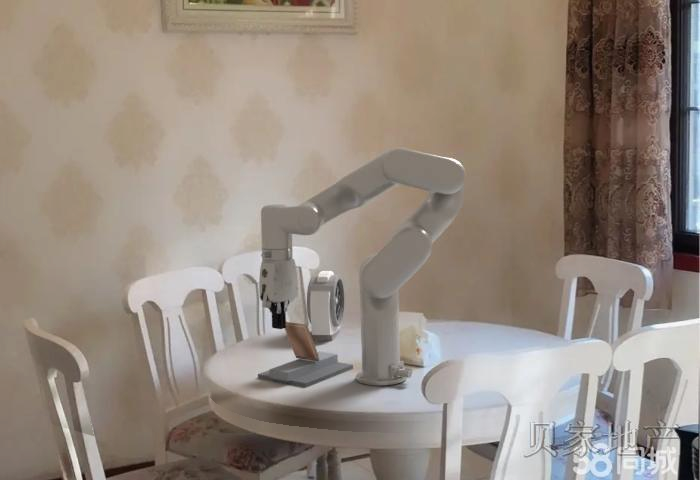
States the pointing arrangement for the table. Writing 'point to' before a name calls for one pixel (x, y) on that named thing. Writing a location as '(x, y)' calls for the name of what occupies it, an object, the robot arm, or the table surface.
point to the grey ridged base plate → (307, 370)
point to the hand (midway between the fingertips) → (278, 327)
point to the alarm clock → (325, 305)
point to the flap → (301, 341)
